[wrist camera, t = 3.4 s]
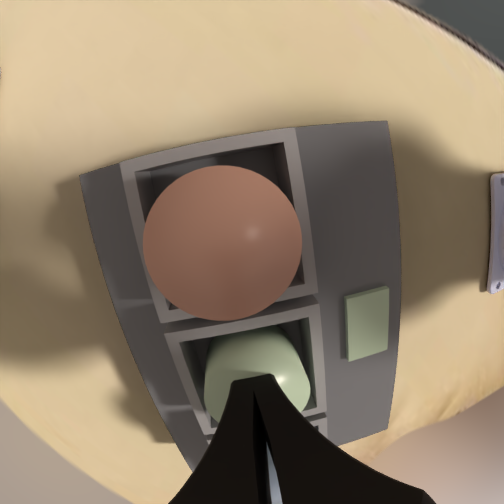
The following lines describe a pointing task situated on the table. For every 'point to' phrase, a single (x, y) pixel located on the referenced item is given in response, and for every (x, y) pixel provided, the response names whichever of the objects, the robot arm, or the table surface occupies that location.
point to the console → (298, 292)
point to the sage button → (253, 365)
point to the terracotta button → (222, 243)
